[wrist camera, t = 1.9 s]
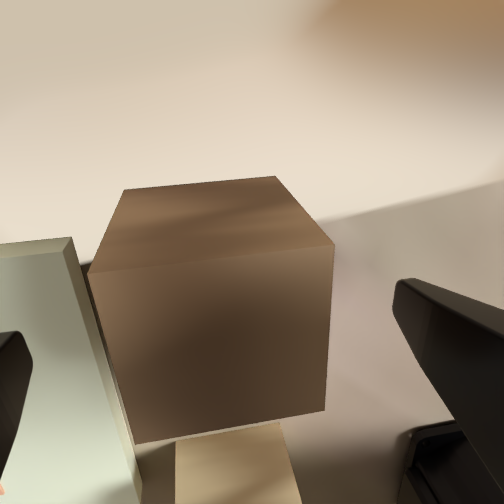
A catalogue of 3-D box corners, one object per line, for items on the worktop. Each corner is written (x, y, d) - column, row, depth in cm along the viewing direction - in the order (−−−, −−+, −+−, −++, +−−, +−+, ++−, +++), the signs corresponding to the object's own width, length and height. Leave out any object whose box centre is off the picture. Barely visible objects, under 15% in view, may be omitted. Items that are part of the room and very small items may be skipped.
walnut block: (275, 175, 12) (334, 244, 7) (277, 298, 14) (324, 410, 9) (124, 189, 11) (87, 273, 6) (150, 315, 13) (134, 444, 9)
